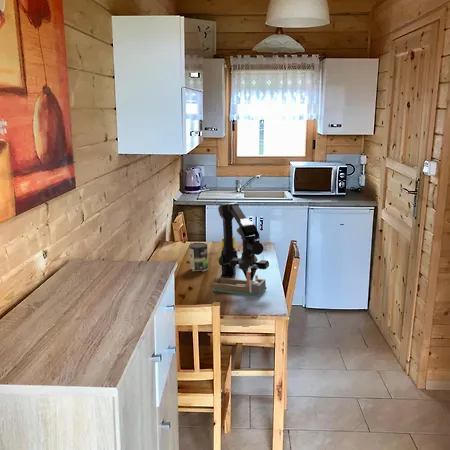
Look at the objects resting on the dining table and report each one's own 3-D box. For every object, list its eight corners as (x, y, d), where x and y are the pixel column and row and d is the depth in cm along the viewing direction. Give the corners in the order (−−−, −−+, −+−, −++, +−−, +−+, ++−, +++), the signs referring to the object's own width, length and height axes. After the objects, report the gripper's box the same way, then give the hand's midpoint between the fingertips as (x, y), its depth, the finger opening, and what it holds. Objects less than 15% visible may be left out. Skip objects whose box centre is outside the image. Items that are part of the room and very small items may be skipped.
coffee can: (212, 267, 277) (210, 243, 274) (201, 273, 268) (200, 248, 265) (197, 265, 282) (196, 241, 279) (186, 270, 274) (185, 246, 271)
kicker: (234, 289, 239) (233, 271, 237) (239, 285, 244) (238, 268, 242) (249, 291, 236) (249, 273, 234) (254, 286, 241) (253, 269, 239)
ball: (260, 287, 234) (255, 292, 236) (263, 284, 238) (258, 289, 239) (254, 281, 235) (249, 286, 236) (257, 278, 238) (252, 284, 240)
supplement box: (222, 255, 298) (221, 238, 296) (226, 252, 304) (225, 235, 301) (231, 256, 296) (231, 239, 294) (235, 253, 302) (234, 236, 299)
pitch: (213, 290, 241) (212, 277, 240) (222, 283, 251) (221, 270, 249) (258, 296, 232) (258, 282, 230) (266, 288, 241) (266, 274, 240)
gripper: (224, 252, 231) (225, 283, 234) (261, 255, 223) (262, 287, 227) (233, 246, 241) (234, 276, 244) (269, 249, 233) (269, 280, 237)
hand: (249, 280), depth 238 cm, fingers closed on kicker, 2 cm apart
